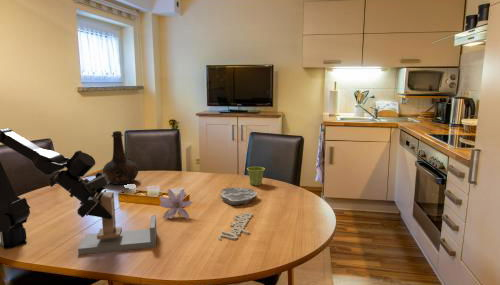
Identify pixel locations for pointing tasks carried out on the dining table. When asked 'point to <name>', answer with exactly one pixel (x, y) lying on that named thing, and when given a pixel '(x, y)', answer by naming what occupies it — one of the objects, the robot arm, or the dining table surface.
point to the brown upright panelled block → (109, 224)
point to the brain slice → (237, 195)
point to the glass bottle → (120, 163)
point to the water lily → (175, 204)
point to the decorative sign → (237, 227)
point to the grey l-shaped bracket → (120, 240)
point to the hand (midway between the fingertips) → (112, 214)
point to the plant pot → (255, 175)
